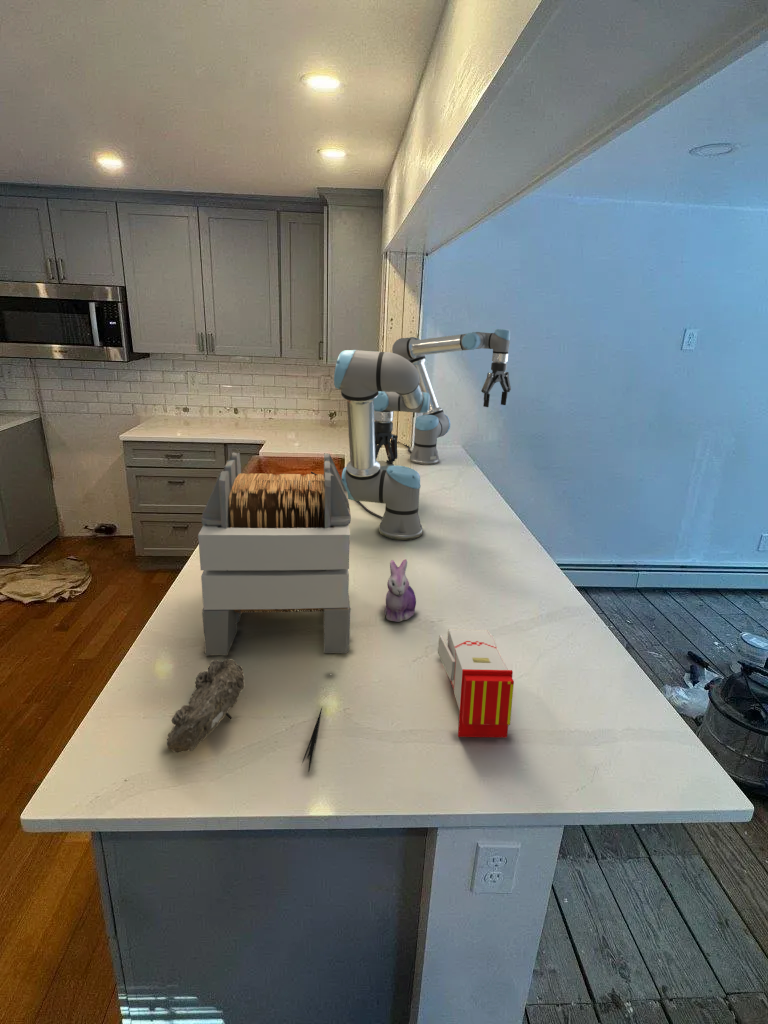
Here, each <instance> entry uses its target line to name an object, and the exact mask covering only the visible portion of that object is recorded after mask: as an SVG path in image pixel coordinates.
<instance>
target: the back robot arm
mask: <svg viewBox="0 0 768 1024" xmlns="http://www.w3.org/2000/svg"><path fill="white" fill-rule="evenodd" d="M510 341H511V331H510V329H504V328H495V330H494V332H485V331H484V332H483V331H482V332H481V331H472V332H468V333H461V334H454V335H452V334H451V335H446V336H437V337H429V338H423V339H420V338H418V337H414V336H411V337H400V338H398V339H397V340H395V341H394V342H393V345H392V348H391V353H395V354H398V355H400V356H402V357H404V358H405V359H407V360H408V361H410V362H411V363H412V364H413V365H414V366H415V367H416V369H417V370H418V373H419V376H420V382H419V386H420V390H421V392H425V393H429V395H430V404H429V410H428V412H427V413H422V414H421V415H418V416H417V417H416V419H415V423H414V438H413V439H414V443H413V448H412V450H411V446H409V445H408V444H406V445H404V446H405V447H406V448H407V451H408V452H409V453H410V455H409V462H411V463H413V464H416V465H423V466H424V465H425V466H427V465H428V466H429V465H430V466H431V465H437V464H439V463H440V457H439V453H438V449H437V444H438V439H439V438H442V437H444V436H445V435H447V433H448V432H449V431H450V429H451V419H450V418H449V416H448V415H447V414H445V412H444V409H443V408H442V407H440V406H439V403H438V400H437V398H436V394H435V391H434V389H433V385H432V382H431V379H430V376H429V374H428V373H429V372H428V370H427V366H426V364H425V363H426V360H427V358H426V356H428V355H435V354H436V355H437V354H444V353H454V352H462V351H474V350H479V349H484V350H486V349H487V350H492V358H491V361H492V362H491V365H490V370H491V372H487V374H486V378H485V380H484V383H483V385H482V388H481V391H480V392H481V393H482V394H483V407H484V408H489V407H490V399H491V398H490V396H491V394H490V392H491V391H492V389H493V387H494V385H495V384H496V383H498V382H499V384H500V386H501V388H502V391H501V397H500V405H501V406H507V399H508V394H509V393H510V392H511V390H512V388H511V387H512V386H511V381H510V372H509V371H507V368H508V363H507V362H509V361H508V360H509V350H510ZM407 445H408V446H407Z"/></svg>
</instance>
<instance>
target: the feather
mask: <svg viewBox="0 0 768 1024" xmlns="http://www.w3.org/2000/svg"><path fill="white" fill-rule="evenodd" d="M329 675H330V676H331V675H332V674H331V673H330V674H329ZM322 710H323V707H321V708H320V710H319V713H318V716H317V719H316V723H315V725H314V728H313V731H312V733H311V737H310V739H309V742H308V745H307V748H306V751H305V754H304V757H303V760H302V763H301V767H302V765H303V763H304V761H305V758H308V759H309V760H308V762H307V763H308V764H307V766H308V771H310V770H311V766H312V765H311V764H312V760H313V757H315V756H314V755H315V751H316V749H315V746H317V739H318V733H319V729H320V722H321V717H322V712H323V711H322ZM313 754H314V755H313ZM306 755H307V757H306Z"/></svg>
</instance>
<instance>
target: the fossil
mask: <svg viewBox="0 0 768 1024" xmlns="http://www.w3.org/2000/svg"><path fill="white" fill-rule="evenodd" d="M243 670H244V669H243V667H242V665H240V664H237V662H236V661H235V660H234V659H232V658H231V659H227V658H226V659H224V660H223V661H222V660H217V659H212V660H211V661H210V663H209V665H208V666H207V671H201V672H199V673H198V674H197V675H196V676H195V680H194V684H195V685H194V687H195V689H194V690H193V693H192V694H191V697H190V698H189V700H188V704H184V705H182V706H181V707H180V709H177V710H176V711H175V713H174V715H173V716H172V718H171V723H172V724H173V727H172V730H171V731H170V732H168V734H167V738H166V741H167V742H166V745H167V749H168V750H169V751H173V752H174V753H176V754H178V753H182V752H188V751H189V752H192V751H193V750H195V748H196V747H197V746H199V744H200V743H201V742H203V741H204V740H205V739H206V738H207V737H208V736H209V735H210V734H211V733H212V732H214V730H215V729H217V727H218V726H219V724H220V722H221V721H222V720H223V719H224V718H225V716H226V717H227V719H229V720H233V717H232V715H230V714H229V710H230V709H231V708H234V706H235V704H236V703H237V702H238V699H239V697H240V695H241V693H242V691H243V690H245V689H244V688H245V675H244V671H243Z"/></svg>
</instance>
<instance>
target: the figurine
mask: <svg viewBox="0 0 768 1024" xmlns="http://www.w3.org/2000/svg"><path fill="white" fill-rule="evenodd" d="M407 567H408V559H406V558H404V559H403V560H402V561H401V563H400V565H399V566H398V565H397V563H396V562H395V561H394V560H393V559H391V560H390V561H389V570H390V576H389V578H388V579H387V589H388V591H387V592H386V594H385V595H386V596H385V607H384V615H385V616H386V620H387V621H391V622H395V623H400V622H402V621H406V620H409V619H410V618H411V617H413V616H414V615H415V610H416V606H417V597H416V593H415V591H414V590H413V587H411V586H410V582H409V579H408V577H407V574H406V571H407Z"/></svg>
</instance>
